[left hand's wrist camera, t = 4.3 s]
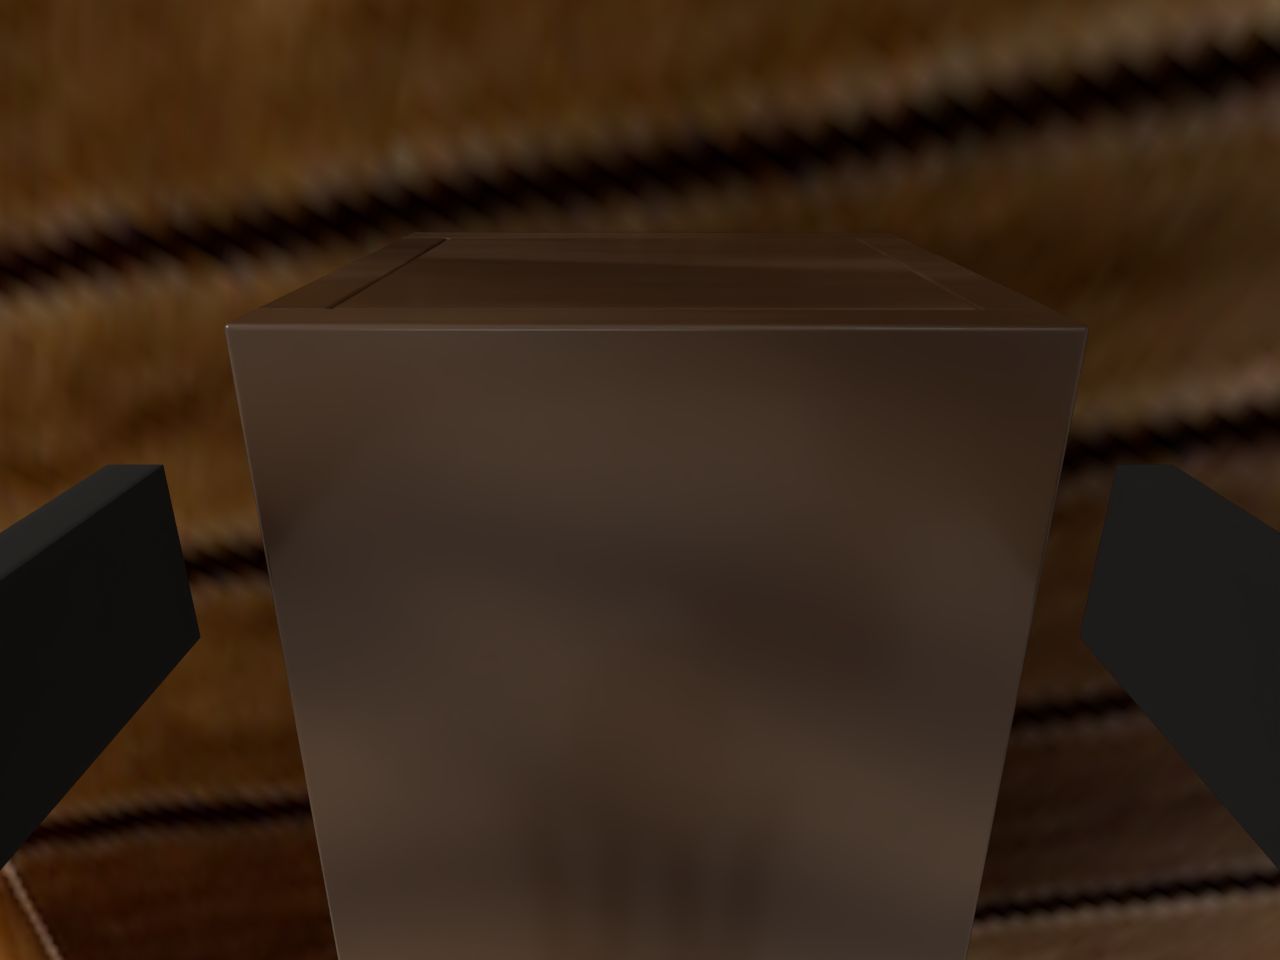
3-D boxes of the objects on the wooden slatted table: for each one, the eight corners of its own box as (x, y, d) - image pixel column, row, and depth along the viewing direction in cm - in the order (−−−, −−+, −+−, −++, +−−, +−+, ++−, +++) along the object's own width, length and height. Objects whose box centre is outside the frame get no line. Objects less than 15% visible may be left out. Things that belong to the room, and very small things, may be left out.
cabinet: (823, 883, 29) (909, 1258, 19) (474, 881, 29) (389, 1252, 19) (892, 232, 21) (1092, 325, 11) (413, 231, 21) (220, 323, 12)
